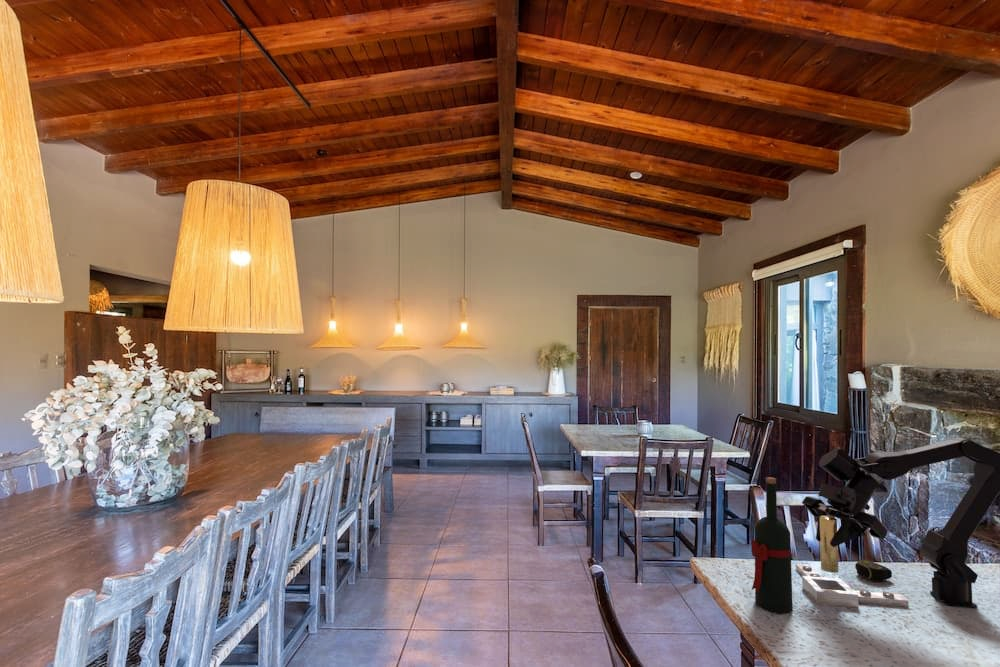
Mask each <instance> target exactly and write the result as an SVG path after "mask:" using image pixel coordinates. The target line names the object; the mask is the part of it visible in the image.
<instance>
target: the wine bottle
mask: <svg viewBox="0 0 1000 667" xmlns="http://www.w3.org/2000/svg"><path fill="white" fill-rule="evenodd" d="M765 494H766V495H765V496H766V497H765V499H766V502H765V504H766V508H765V509H766V516H763V517H762V518H759V519H758V520H757V521H756V522H755V525H754V527H753V528H754V539H752V540H751V543H750V544H751V545H750V547H751V555H752V557H754V578H753V584H752V586H751V591H753V590H754V594H755V598H754V600H755V605H756V606H758V608H760V609H761V610H764V611H766V612H768V613H772V614H778V615H787V614H791V613H792V612H793V611H794V610H793V609H794V607H793V606H794V605H793V604H794V603H793V582H792V581H793V578H792V577H793V576H792V575H793V574H792V547H791V546H792V545H791V532H790V529H789V527H788V526H787V525H786V522H784V520H783V521H782V520H781V519H780V518H778V510H777V508H778V507H777V506H778V502H777V478H775V477H771V476H769V477H765Z"/></svg>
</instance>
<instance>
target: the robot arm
mask: <svg viewBox="0 0 1000 667" xmlns="http://www.w3.org/2000/svg"><path fill="white" fill-rule="evenodd" d="M959 458H965V459H968V460H969V461H972V462H973V463H975V464H974V468H973V473H974V474H973V475H974V476H973V477H974V479H973V481H972V482H971V484H970V485H969V488H968V490H966V493H965V494H964V495H963V497H962V499H961V500H960V502H959V503H958V505H957V506H956V508H955V510H954V511H953V513H952V514H951V515H950V518H949V519H948V521H947V522H946V523H945V525H944V527H943V528H942V529H940V530H938V531H934V530H932V529H928V530H927V531H926V534H925V537H924V538H923V539H922V540H920V541H919V543H920V544H921V547H920V552H921V555H922V557H923V558H924V560H926V561H928V563H929V565H930V567H931V568H932V569H933V571H932V572H933V577H931V591H929V594H930V595H932V596H934V597H935V598H936V599H937V600H939V601H940V602H942V603H943V604H944V605H947V606H952V607H965V608H974V609H975V608H977V609H978V604H976V603H974V602H973V587H972V586H973V585H972V584H976V581H977V579H978V576H979V575H978V573H977V572H975V571H974V570H973V569H972V568H971V567H970V566H968V564H966V561H967V558H968V556H969V550H968V549H969V544H968V543H969V540H970V539H971V537H972V536H973V534H974V533H975V531H976V530H977V528H978V526H979V524H980V523H981V522H982V520H983V519H984V517H985V515H986V514H987V512H988V511H989V509H990V507H992V505H993V504H994V501H995V500H996V498H997V496H998V495H999V494H1000V450H999V451H998V450H995V449H994V450H993V449H991V448H989V447H986V446H983V445H982V444H979V443H977V442H975V441H973V440H971V439H969V438H968V439H967V438H963V437H958V436H957V437H953V438H951V439H949V440H948V439H947V440H943V441H940V442H936V443H931V444H927V445H922V446H919V447H915V448H911V449H907V450H903V451H879V452H878V451H877V452H871V453H868V454H867V455H866V456H865V457H860V458H859V457H858V458H853V457H852V456H850V455H849V454H848V453H847V452H846V451H845V450H844V449H843V448H841V447H839V446H837V447H835V449H833V450H830V451H829V452H827V453H824V454H823V455H822V457H821V458H820V460H819V461H818V465H819V466H820V468H822V469H823V470H824V471H825V472H827V473H828V474H829V475H831V476H832V477H833V478H835V480H837V481H839V482H843V481H845V482H847V483H846V484H845V485H844V486H843V487H837V486H833V485H831V484H830V485H829V484H825V483H821V484H820V487H819V492H818V494H817V495H818V497H822V498H824V499H826V502H827V503H828V505H830V506H828V505H826V504H825V502H824V501H823V500H822V499H821V498H817V497H814V496H810V495H809V496H808V495H807V496H805V497H804V499H803V500H802V501H801V504H802V505H803V506H804V507H805V508H806V510H807V511H808V512H809V513H810V514H811V515H812V516H813V517H814V518H817V528H816V534H815V540H816V541H817V542H820V516H830V517H834V518H836V519H839V520H841V522H840V526H839V528H837V533H836V534H835V536H834V537H833V539H832V541H831V546H832V547H836V546H838V547H839V546H840V545H842V544H844V543H847V542H849V541H851V540H854V539H857V538H859V537H866V536H867V534H866V531H867V530H868V533H869V535H870V536H871V537H873V538H876V539H879V540H885V538H886V537H887V535H888V531H887V530H888V529H887V527H886V526H885V525H884V524H883V522H882V521H881V520H880V519H879V518H878V517H877V516H876V515H874V514H871V513H867V512H864V510H866V511H869V510H870V508H871V506H870V505H869V502H870V501H871V499H872V498H873V495H875V493H877V494H880V493H882V494H883V493H888V488H887V486H886V485H885V481H883V480H887V481H890V480H891V481H892V480H895V479H897V478H899V477H902V476H904V475H906V474H908V473H909V472H910V471H912V470H914V469H917V468H920V467H925V466H928V465H934V464H936V463H937V464H938V463H941V462H946V461H949V460H950V461H951V460H954V459H959ZM865 472H866V473H865ZM873 475H874V476H876V477H878V478H880V479H881V480H882V481H881V480H880V481H879V480H878V479H876V478H875V477H874V476H873Z"/></svg>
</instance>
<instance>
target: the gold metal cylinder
mask: <svg viewBox="0 0 1000 667" xmlns="http://www.w3.org/2000/svg"><path fill="white" fill-rule="evenodd" d="M837 531H838V518H836V517H830V516H820V541H819V543H820V545H819V546H820V547H819V548H820V551H819V552H820V570H822V571H824V572H827V573H832V574H838V573H839V548H838V547H839V545H838V546H836V547H832V546H831V541H832V539H833V537H834V536H835V534H836V533H837Z"/></svg>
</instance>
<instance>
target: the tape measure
mask: <svg viewBox="0 0 1000 667" xmlns="http://www.w3.org/2000/svg"><path fill="white" fill-rule="evenodd" d="M854 568H855V570H856V574H857V575H858V576H860V577H861V578H864V579H867V580H869V581H874V582H884V581H887V580H890V579H891V578H892V577H893V572H892V570H891V569H890V568H888V567H886V566H884V565H881V564H879V563H876V562H874V561H871V560H868V559H864V560H857V562H856V563H855V566H854Z"/></svg>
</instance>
